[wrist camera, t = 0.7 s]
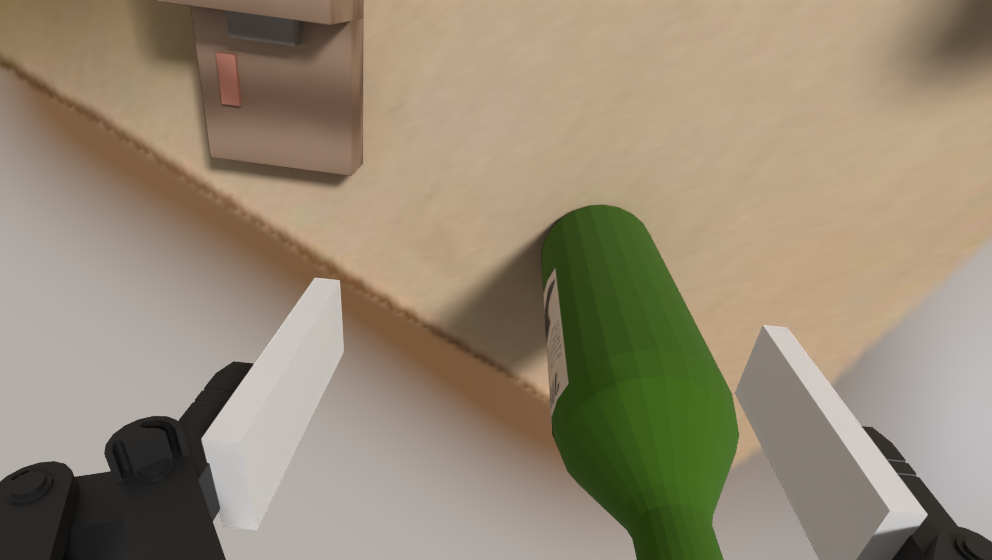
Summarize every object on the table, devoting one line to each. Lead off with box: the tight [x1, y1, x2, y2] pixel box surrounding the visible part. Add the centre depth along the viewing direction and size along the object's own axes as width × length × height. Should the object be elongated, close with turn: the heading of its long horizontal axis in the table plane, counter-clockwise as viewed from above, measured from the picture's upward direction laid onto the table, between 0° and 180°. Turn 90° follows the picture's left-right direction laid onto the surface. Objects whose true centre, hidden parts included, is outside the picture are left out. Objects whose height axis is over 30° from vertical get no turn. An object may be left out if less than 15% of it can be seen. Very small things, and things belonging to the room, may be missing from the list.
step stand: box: [156, 0, 363, 176], centre depth 33 cm, size 20×10×7 cm, turn 173°
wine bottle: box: [541, 205, 739, 560], centre depth 29 cm, size 9×9×32 cm
